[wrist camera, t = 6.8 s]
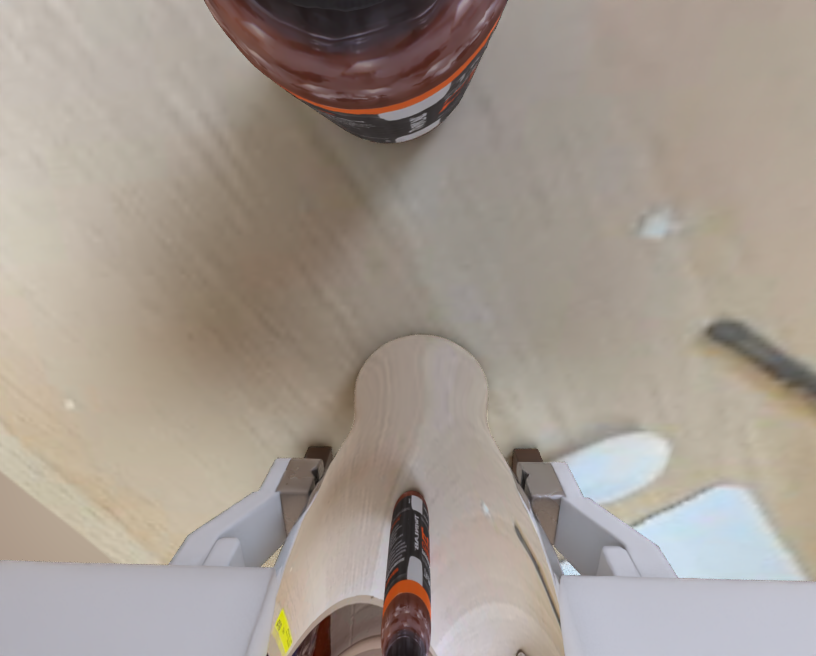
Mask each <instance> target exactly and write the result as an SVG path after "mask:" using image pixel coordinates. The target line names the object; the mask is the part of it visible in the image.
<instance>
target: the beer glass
mask: <svg viewBox="0 0 816 656" xmlns="http://www.w3.org/2000/svg"><path fill="white" fill-rule="evenodd" d="M488 400H489V391H488V383H487V379H486V376H485V374H484V372H483V370H482V368H481V366H480V364H479V363H478V362H477V360H476V359H475V358H474V357H473V356H472V355H471V354H470V353H469V352H468V351H467V350H466V349H464V348H463V347H462V346H460V345H458V344H457V343H455V342H453V341H451V340H448V339H446V338H442V337H439V336H434V335H426V334H416V335H408V336H403V337H399V338H397V339H394V340H392V341H389V342H387V343H386V344H384V345H382V346H381V347H379V348H378V349H377V350H376V351H375V352H373V353H372V354H371V355H370V357H369V358H368V359H367V360H366V361H365V363H364V364H363V366H362V368H361V369H360V371H359V374H358V376H357V380H356V384H355V389H354V422H353V425H352V428H351V430H350V432H349V434H348V435H347V437H346V439H345V440H344V442H343V444H342V445H341V447H340V448H339V450H338V452H337V453H336V455H335V456H334V458H333V459H332V461H331V462H330V464H329V465H328V467H327V469H326V470H325V472H324V473H323V475H322V477H321V478H320V480H319V482H318V483H317V485H316V486H315V488H314V490H313V491H312V493H311V494H310V496H309V498H308V499H307V501H306V503H305V505H304V507H303V509H302V510H301V512H300V514H299V516H298V518H297V520H296V522H295V523H294V525H293V527H292V529H291V531H290V533H289V534H288V536H287V538H286V540H285V542H284V544H283V546H282V548H281V551H280V553H279V555H278V558H277V560H276V562H275V565H274V567H273V568H275V570H274V573H273V576H272V579H271V581H270V585H269V588H268V592H267V595H266V598H265V600H264V603H263V606H262V609H261V612H260V615H259V618H258V621H257V624H256V626H255V629H254V632H253V635H252V638H251V641H250V644H249V647H248V650H247V653H246V656H585V654H584V651H583V648H582V644H581V641H580V638H579V635H578V631H577V628H576V625H575V621H574V618H573V615H572V611H571V608H570V605H569V602H568V598H567V593H566V590H565V586H564V583H563V580H562V575H564V573H563V570H562V567H561V565H560V562H559V560H558V557H557V555H556V553H555V550H554V548H553V546H552V544H551V542H550V540H549V538H548V536H547V534H546V532H545V530H544V528H543V526H542V524H541V522H540V520H539V518H538V516H537V514H536V512H535V510H534V508H533V506H532V504H531V502H530V501H529V499H528V497H527V495H526V494H525V492H524V490H523V488H522V487H521V485H520V483H519V481H518V480H517V478H516V476H515V474H514V473H513V471H512V469H511V467H510V466H509V464H508V462H507V461H506V459H505V457H504V456H503V454H502V452H501V450H500V449H499V447H498V445H497V443H496V441H495V439H494V438H493V436H492V434H491V431H490V428H489V425H488V420H487V410H488Z"/></svg>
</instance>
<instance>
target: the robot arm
mask: <svg viewBox="0 0 816 656" xmlns="http://www.w3.org/2000/svg"><path fill="white" fill-rule="evenodd" d="M323 471H324V464H323V460H322V459H307V458H277V459H275V461H274V462H273V464H272V466H271V468H270V470H269V472H268V474H267V476H266V478H265V479H264V481H263V483H262V485H261V487H260V489H259V491H258V492H252V493H251V494H249V495H248V496H246V497H245V498H243V499H242V500H240V501H239V502H237V503H236V504H234V505H233V506H231V507H230V508H228V509H227V510H225V511H224V512H222V513H221V514H219V515H218V516H216V517H215V518H213V519H212V520H210V521H208V522H207V523H205V524H204V525H202V526H201V527H199V528H198V529H196V530H195V531H193V532H192V533H190V534H189V535H188V536H187V537H186V539H185V540H184V542H183V543H182V545H181V546H180V548H179V549H178V551H177V552H176V554H175V555H174V557H173V558H172V560H171V561H170V563H169V564H168V565H155V564H116V563H76V562H75V563H74V562H40V561H14V560H0V656H246V653H247V650H248V647H249V644H250V641H251V638H252V635H253V632H254V629H255V626H256V624H257V621H258V618H259V615H260V612H261V609H262V606H263V603H264V600H265V598H266V595H267V592H268V588H269V585H270V581H271V579H272V576H273V573H274V570H275V568H269V567H261V566H262V565H263V564H264V563H265V562H266V561H267V560H268V559H269V558H270V557H271V556H272V555H273V554H274V553H275V552H276V551H277V550H278V549H279V548H280V547H281V546H282V545H283V544H284V542H285V540H286V538H287V536H288V534H289V533H290V531H291V529H292V527H293V525H294V523H295V522H296V520H297V518H298V516H299V514H300V512H301V510H302V509H303V507H304V505H305V503H306V501H307V499H308V498H309V496H310V494H311V493H312V491H313V490H314V488H315V486H316V485H317V483H318V482H319V480H320V478H321V477H322V475H323ZM516 473H517V477H518V481H519V483H520V485H521V487H522V488H523V490H524V492H525V494H526V495H527V497H528V499H529V501H530V502H531V504H532V506H533V508H534V510H535V512H536V514H537V516H538V518H539V520H540V522H541V524H542V526H543V528H544V530H545V532H546V534H547V536H548V538H549V540H550V542H551V544H552V545H554V547H555V548H556V549H557V550H558V551H559V552H560V553H561V554H562V555H563V556H564V557H565V558H566V559H567V561H568V562H569V563H570V564H571V565H572V566H573V567H574V568H575V569H576V570H577V571H578V572H579V573H580V574H581V575H562V580H563V583H564V586H565V590H566V593H567V598H568V602H569V605H570V608H571V611H572V615H573V618H574V621H575V625H576V628H577V631H578V635H579V638H580V641H581V644H582V648H583V651H584V654H585V656H816V581H779V580H739V579H700V578H678V577H677V575H676V573H675V572H674V570H673V569H672V567H671V565H670V564H669V562H668V561H667V559H666V558H665V556H664V554H663V553H662V551H661V550H660V548H659V546H657V545H656V544H654V543H653V542H652V541H650V540H649V539H647V538H646V537H644V536H643V535H641V534H640V533H639V532H637V531H636V530H634V529H633V528H631V527H630V526H629V525H627V524H626V523H624V522H623V521H621V520H620V519H619V518H617V517H616V516H614V515H613V514H611V513H610V512H608V511H607V510H606V509H604V508H603V507H601V506H600V505H598V504H597V503H596V502H594V501H593V500H591V499H590V498H584V496H583V494H582V492H581V490H580V488H579V486H578V484H577V482H576V480H575V478H574V476H573V474H572V472H571V470H570V468H569V466H568V465H567V463H566V462H549V463H548V462H518V464H517V470H516Z"/></svg>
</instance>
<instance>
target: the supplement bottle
mask: <svg viewBox="0 0 816 656" xmlns="http://www.w3.org/2000/svg"><path fill="white" fill-rule="evenodd" d="M204 1H205V3H206V5H207V6H208V8H209V10H210V12H211V13H212V15H213V17H214V19H215V20H216V21H217V23H218V24H219V25H220V27H221V28H222V29H223V31H224V32H225V33H226V35H227V36H228V37H229V38H230V39H231V41H232V42H233V43H234V44H235V45H236V47H237V48H238V49H239V50H240V51H241V52H242V54H243V55H244V56H245V57H246V58H247V59H248V60H249V61H250V62H251V63H252V64H253V65H254V66H255V67H256V68H257V69H259V70H260V71H261V72H262V73H263V74H264V75H266V76H267V77H269V78H270V79H271V80H273V81H274V82H275V83H277V84H278V85H279V86H281V87H282V88H284V89H285V90H286V91H287V92H289V93H291V94H292V95H293V96H294V97H296V98H297V99H299V100H301V101H302V102H304V103H305V104H307V105H308V106H310V107H311V108H313V109H314V110H316V111H317V112H319V113H320V114H322V115H323V116H325V117H326V118H328V119H329V120H331V121H332V122H334V123H335V124H337V125H338V126H340V127H341V128H343V129H344V130H346V131H348V132H350V133H351V134H353V135H355V136H358V137H360V138H362V139H366V140H370V141H372V142H378V143H399V142H406V141H409V140H412V139H415V138H418V137H420V136H422V135H424V134H426V133H428V132H429V131H431V130H432V129H434V128H435V127H437V126H438V125H439V124H440V123H441V122H442V121H444V120H445V119H446V117H447V116H448V115H449V114H450V113H451V112H452V111H453V109H454V108H455V107H456V106H457V105H458V103H459V101H460V100H461V98H462V96H463V94H464V92H465V90H466V89H467V87H468V85H469V83H470V81H471V79H472V77H473V75H474V72H475V70H476V68H477V66H478V64H479V62H480V59H481V57H482V55H483V53H484V51H485V49H486V48H487V45H488V42H489V40H490V38H491V37H492V34H493V32H494V31H495V29H496V27H497V25H498V22H499V20H500V18H501V15H502V12H503V10H504V8H505V5H506V3H507V1H508V0H204Z"/></svg>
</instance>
